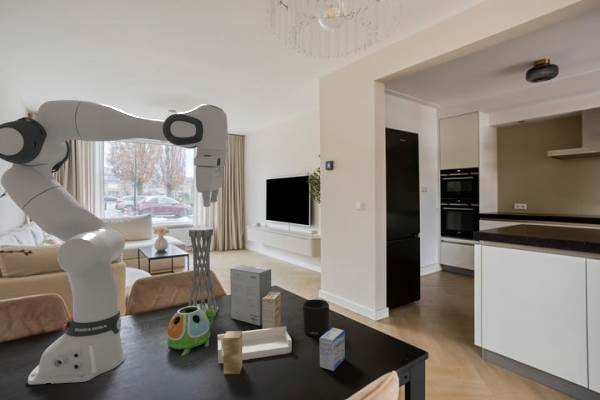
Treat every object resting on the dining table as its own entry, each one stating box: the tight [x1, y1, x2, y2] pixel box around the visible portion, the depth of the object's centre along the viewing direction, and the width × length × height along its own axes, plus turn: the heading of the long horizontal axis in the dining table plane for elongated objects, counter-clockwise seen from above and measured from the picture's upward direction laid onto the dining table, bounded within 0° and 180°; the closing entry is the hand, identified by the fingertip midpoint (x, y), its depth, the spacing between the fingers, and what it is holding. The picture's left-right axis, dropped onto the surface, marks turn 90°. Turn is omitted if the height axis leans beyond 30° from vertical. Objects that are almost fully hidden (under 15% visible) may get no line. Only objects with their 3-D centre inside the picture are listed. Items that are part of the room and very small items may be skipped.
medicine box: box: [319, 327, 346, 372], centre depth 90 cm, size 8×4×9 cm, turn 148°
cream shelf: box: [217, 325, 293, 364], centre depth 96 cm, size 22×8×5 cm, turn 106°
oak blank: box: [223, 330, 243, 375], centre depth 86 cm, size 4×4×10 cm
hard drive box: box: [229, 265, 273, 327], centre depth 122 cm, size 16×8×20 cm, turn 58°
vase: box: [187, 226, 219, 314], centre depth 130 cm, size 14×13×35 cm
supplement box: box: [262, 291, 282, 329], centre depth 111 cm, size 8×5×13 cm, turn 168°
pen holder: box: [302, 298, 330, 338], centre depth 110 cm, size 9×9×10 cm
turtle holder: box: [166, 305, 217, 357], centre depth 103 cm, size 12×18×12 cm
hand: (210, 204), depth 97 cm, fingers open, 8 cm apart
